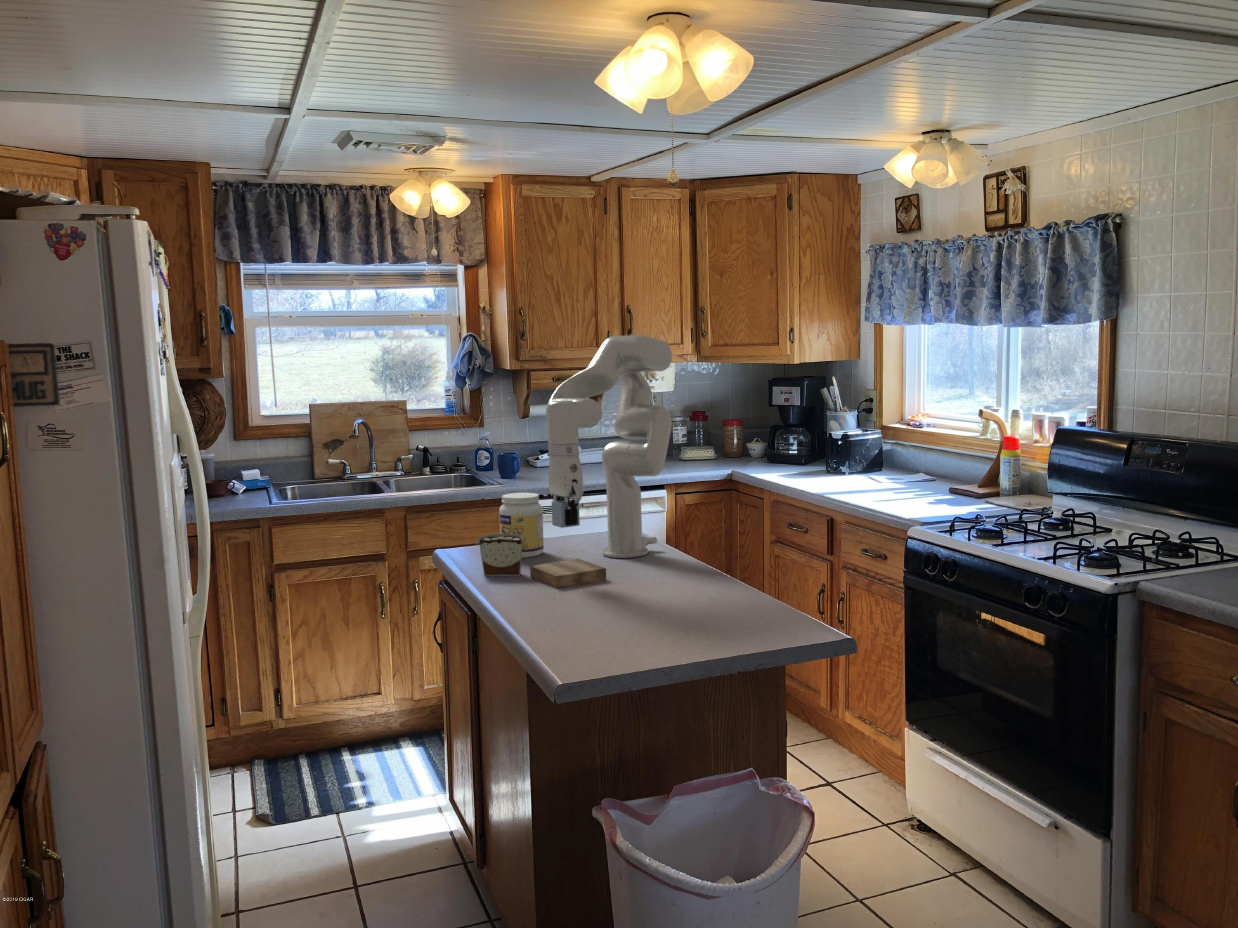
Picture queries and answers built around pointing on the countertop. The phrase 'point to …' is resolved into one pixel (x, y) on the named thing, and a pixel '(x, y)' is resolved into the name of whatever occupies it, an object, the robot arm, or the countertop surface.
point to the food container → (501, 554)
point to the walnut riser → (568, 573)
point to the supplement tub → (523, 521)
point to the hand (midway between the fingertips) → (565, 522)
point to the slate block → (561, 514)
